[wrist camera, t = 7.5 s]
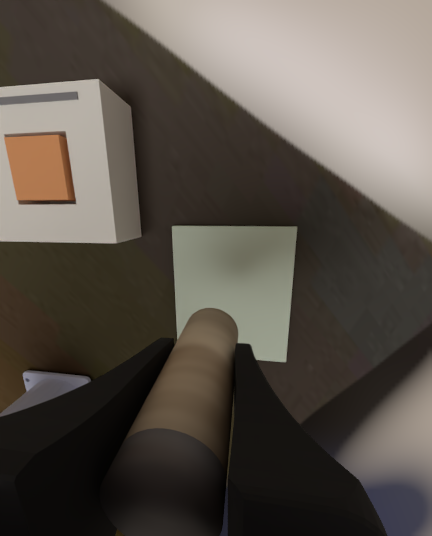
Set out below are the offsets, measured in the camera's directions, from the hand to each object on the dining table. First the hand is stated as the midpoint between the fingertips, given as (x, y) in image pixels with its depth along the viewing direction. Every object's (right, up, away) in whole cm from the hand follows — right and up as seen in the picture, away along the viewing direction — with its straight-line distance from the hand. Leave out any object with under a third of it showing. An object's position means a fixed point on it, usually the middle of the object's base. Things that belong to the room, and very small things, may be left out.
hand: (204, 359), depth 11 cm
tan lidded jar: (0, +1, +2) cm, 2 cm away
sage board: (+2, +2, +10) cm, 10 cm away
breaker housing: (-11, +12, +9) cm, 19 cm away
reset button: (-11, +12, +7) cm, 18 cm away
